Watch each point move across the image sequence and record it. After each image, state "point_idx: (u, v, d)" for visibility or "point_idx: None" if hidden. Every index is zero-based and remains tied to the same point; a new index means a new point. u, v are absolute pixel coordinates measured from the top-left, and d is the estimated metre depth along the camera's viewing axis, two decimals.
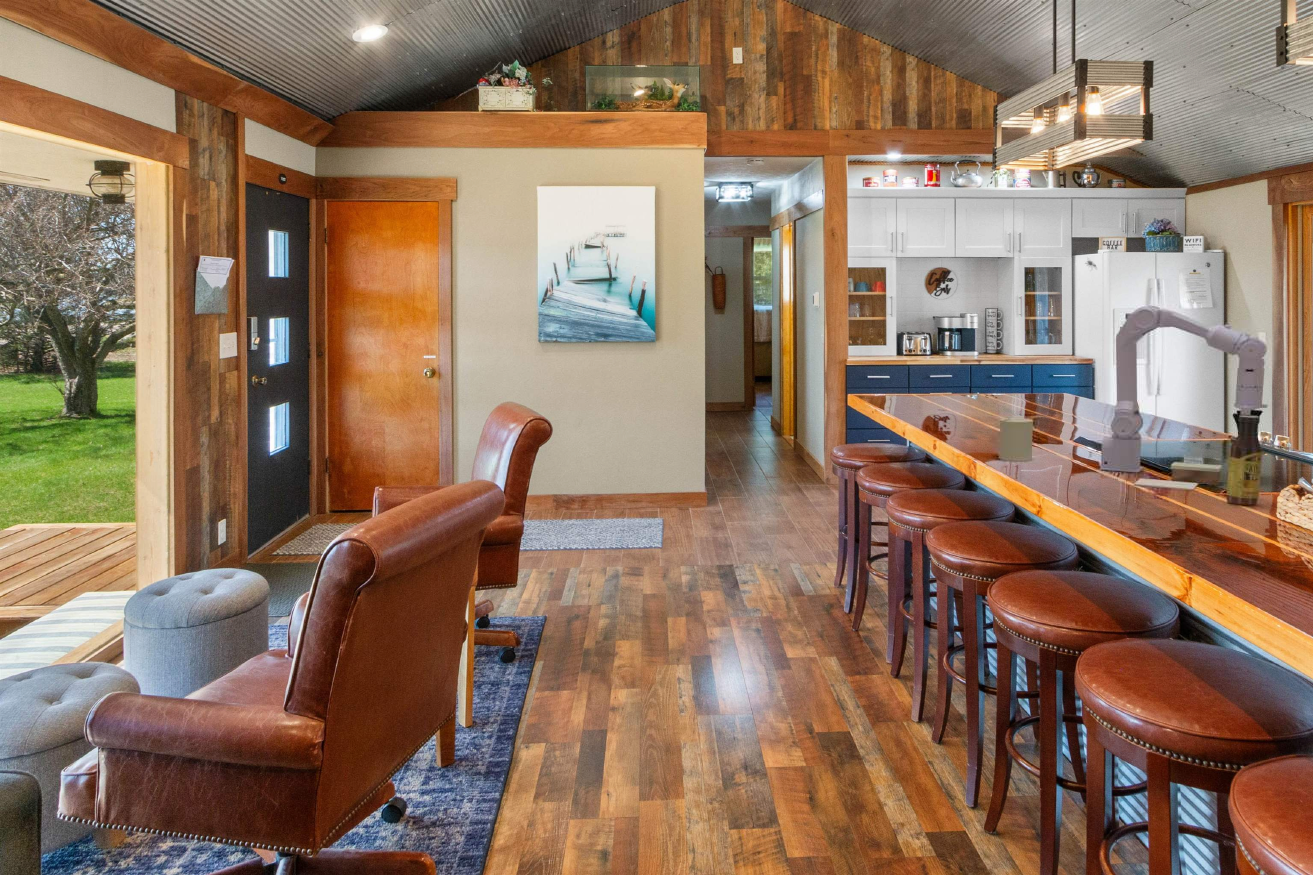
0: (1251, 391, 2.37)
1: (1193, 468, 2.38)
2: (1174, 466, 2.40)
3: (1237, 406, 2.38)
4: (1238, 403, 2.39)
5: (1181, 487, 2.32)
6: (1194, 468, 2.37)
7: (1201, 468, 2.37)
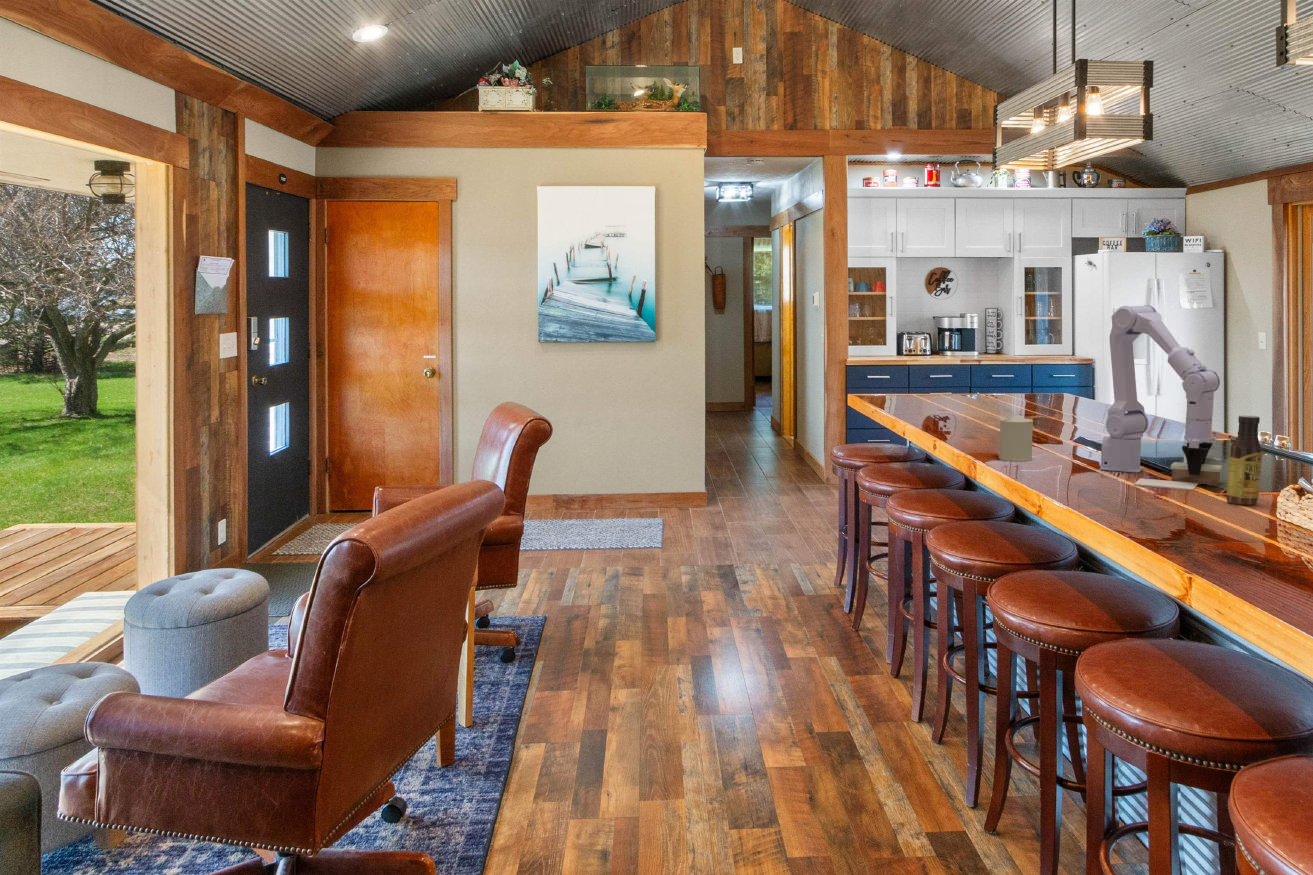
0: (1199, 424, 2.36)
1: None
2: (1174, 466, 2.40)
3: (1186, 439, 2.37)
4: (1187, 436, 2.38)
5: (1181, 487, 2.32)
6: None
7: (1201, 468, 2.37)
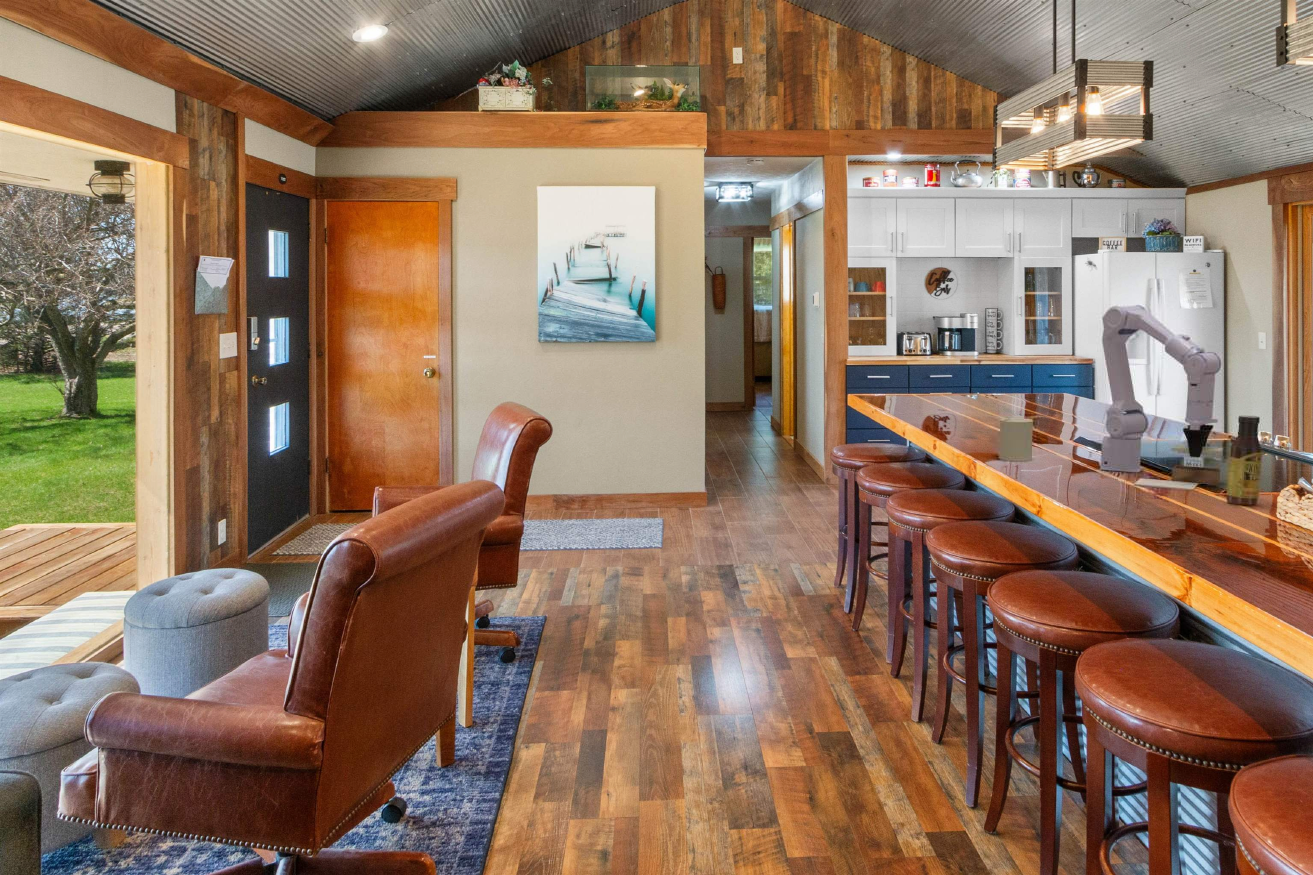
0: (1201, 406, 2.35)
1: None
2: (1175, 448, 2.39)
3: (1187, 421, 2.37)
4: (1188, 418, 2.37)
5: (1181, 487, 2.32)
6: None
7: (1202, 450, 2.36)
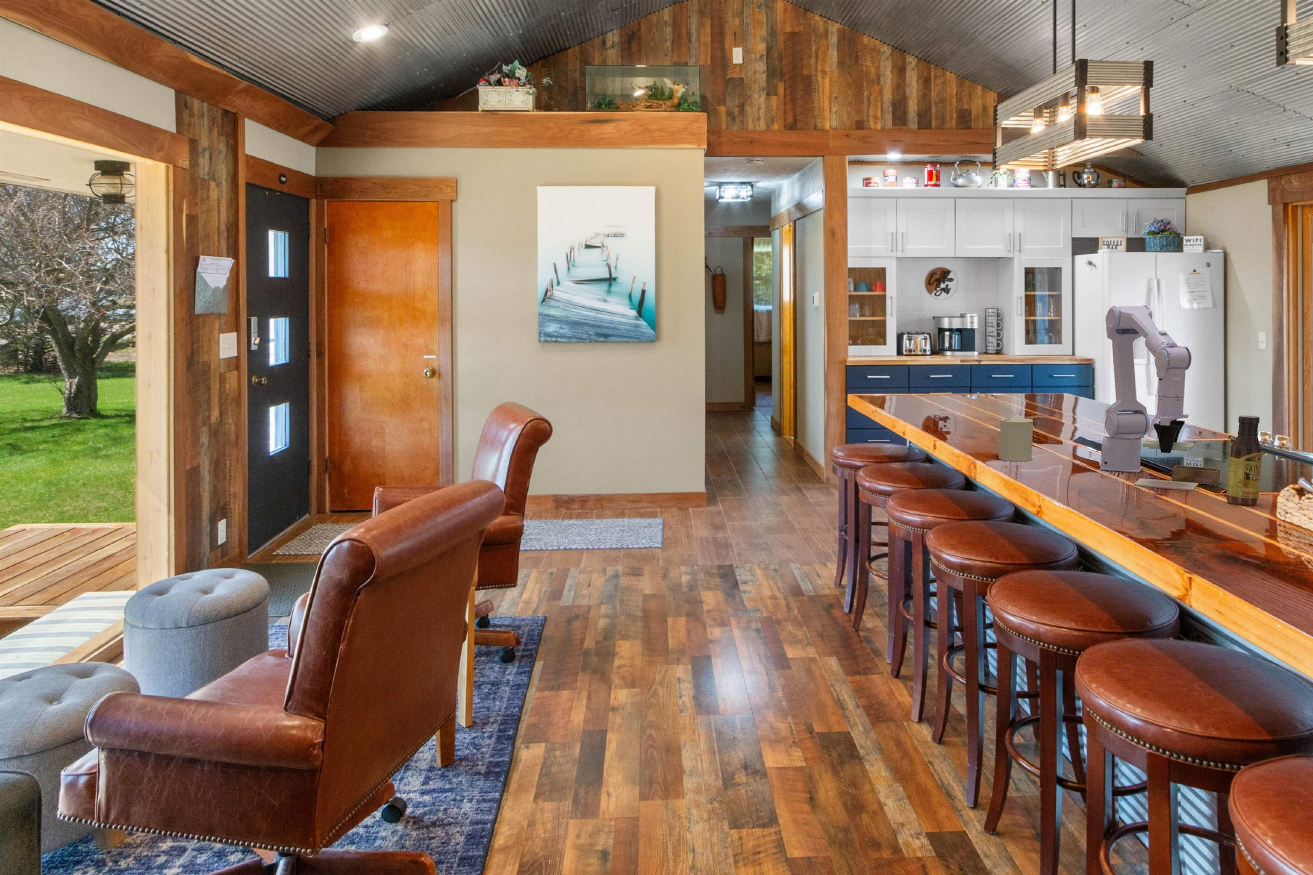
0: (1171, 401, 2.32)
1: None
2: (1146, 444, 2.36)
3: (1158, 416, 2.34)
4: (1159, 413, 2.34)
5: (1181, 487, 2.32)
6: None
7: (1173, 446, 2.33)
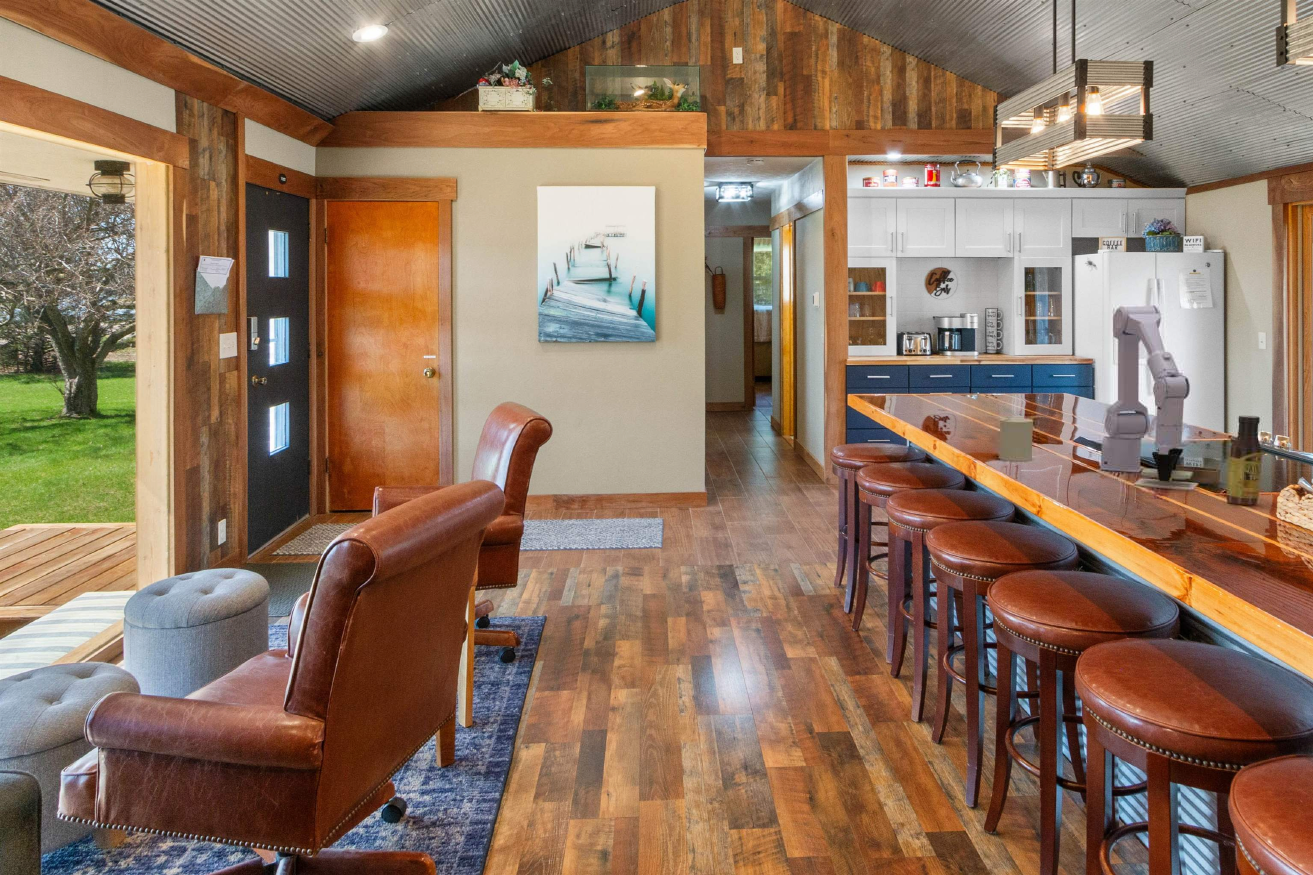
0: (1169, 430, 2.33)
1: None
2: (1145, 472, 2.37)
3: (1156, 445, 2.35)
4: (1157, 442, 2.35)
5: (1181, 487, 2.32)
6: None
7: (1171, 475, 2.34)
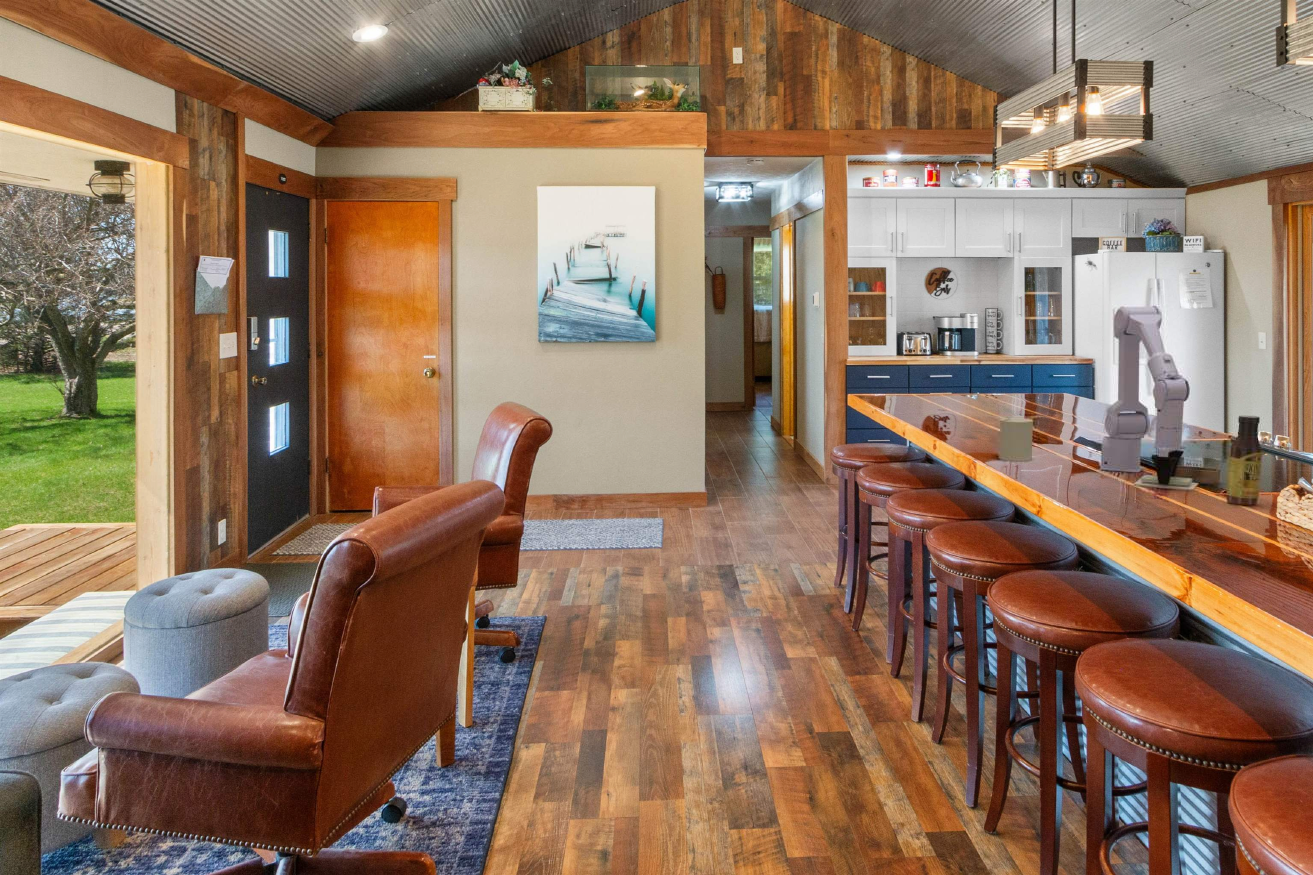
0: (1169, 433, 2.33)
1: None
2: (1144, 479, 2.38)
3: (1156, 447, 2.35)
4: (1157, 444, 2.35)
5: (1181, 487, 2.32)
6: None
7: (1171, 481, 2.34)
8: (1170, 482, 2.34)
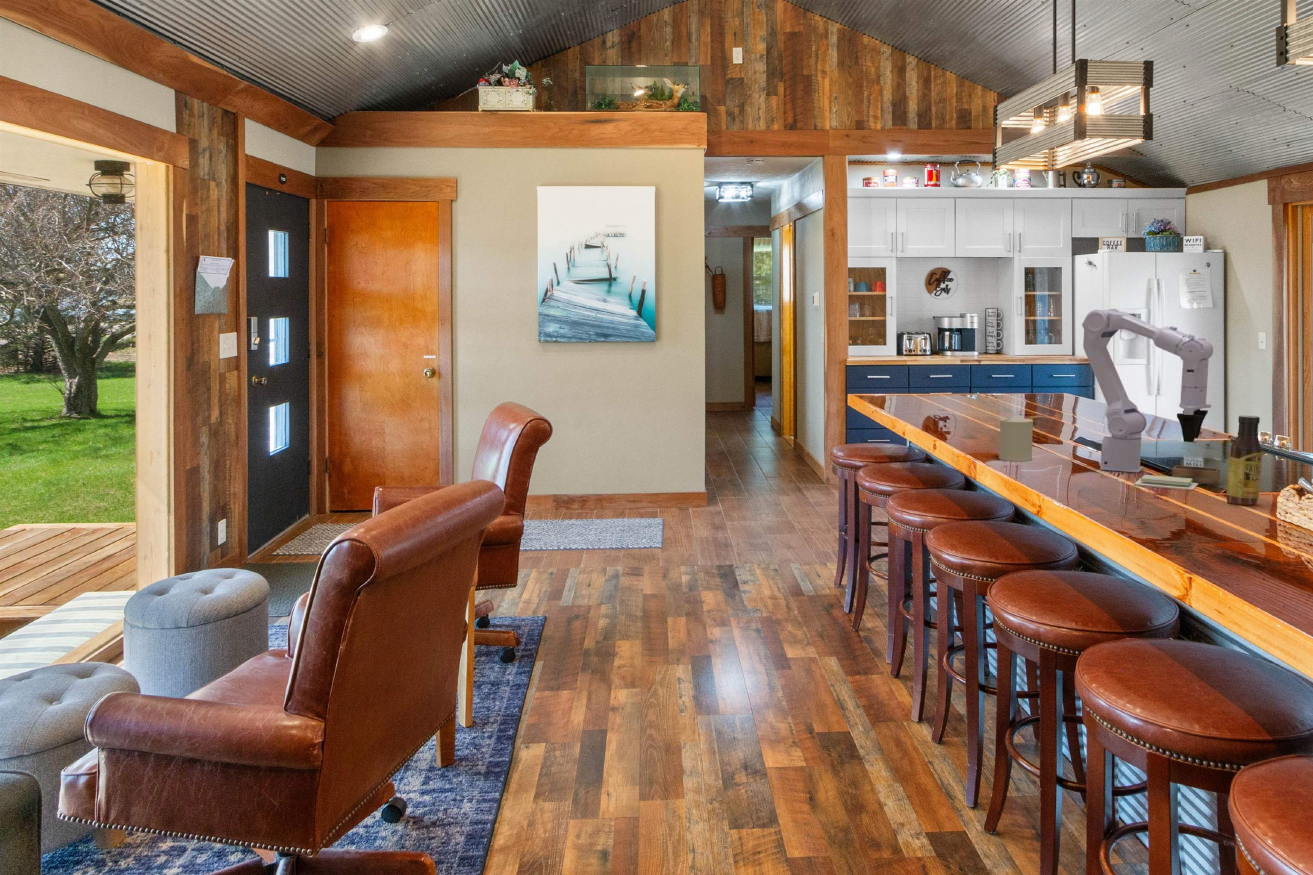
0: (1194, 392, 2.40)
1: (1163, 481, 2.35)
2: (1144, 479, 2.38)
3: (1181, 406, 2.42)
4: (1183, 403, 2.43)
5: (1181, 487, 2.32)
6: (1164, 481, 2.35)
7: (1171, 481, 2.34)
8: (1170, 482, 2.34)
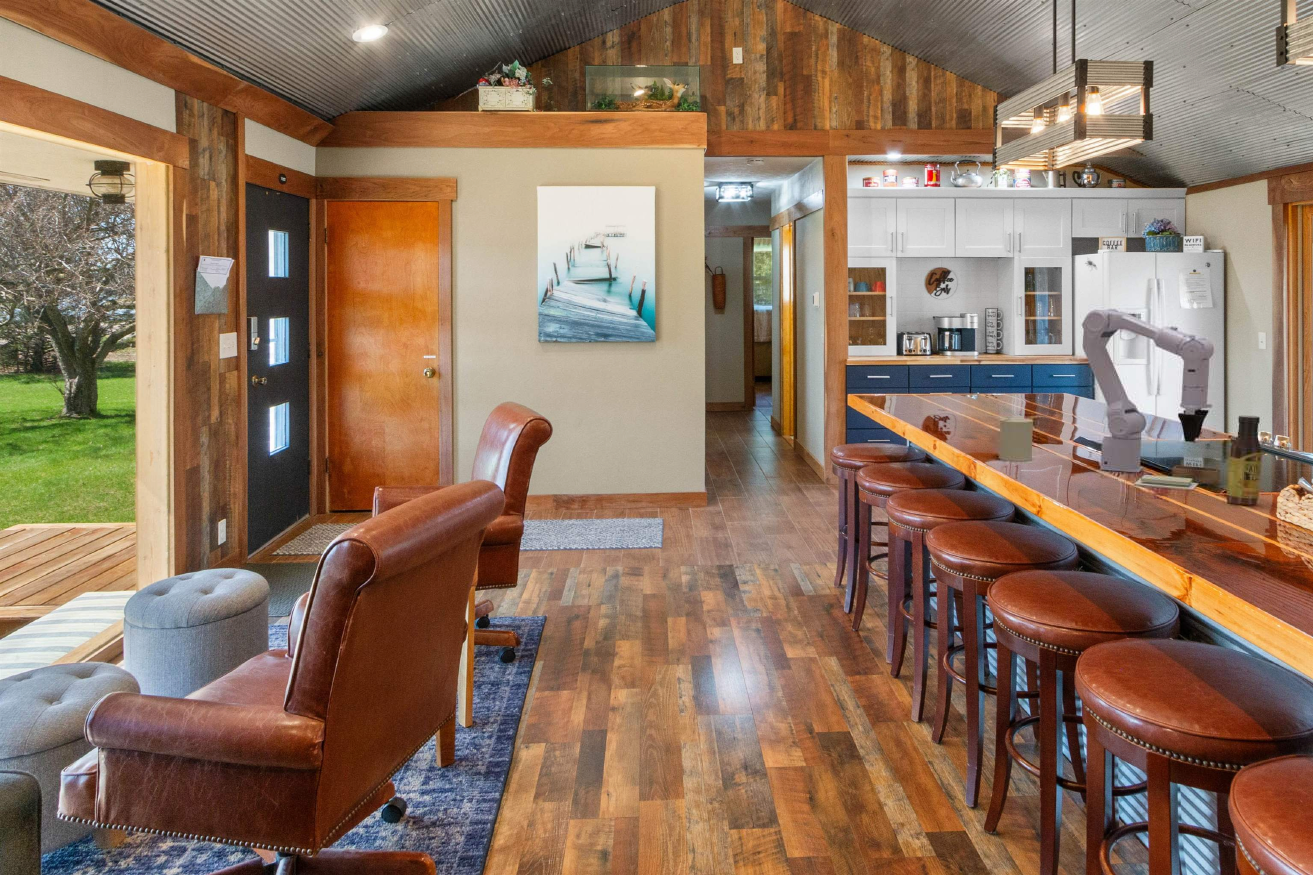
0: (1195, 391, 2.41)
1: (1163, 481, 2.35)
2: (1144, 479, 2.38)
3: (1182, 406, 2.42)
4: (1184, 403, 2.43)
5: (1181, 487, 2.32)
6: (1164, 481, 2.35)
7: (1171, 481, 2.34)
8: (1170, 482, 2.34)
